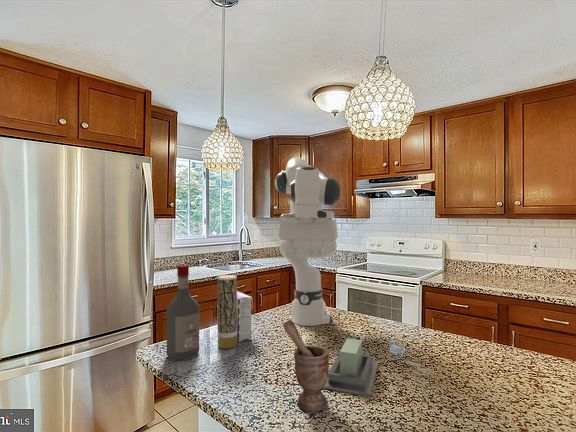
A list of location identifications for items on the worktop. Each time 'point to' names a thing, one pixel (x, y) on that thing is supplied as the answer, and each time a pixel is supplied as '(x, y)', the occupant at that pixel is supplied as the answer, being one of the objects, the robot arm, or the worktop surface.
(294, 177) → the robot arm
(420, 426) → the worktop surface
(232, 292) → the paper tube
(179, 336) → the liquor
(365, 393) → the duct collar
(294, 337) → the mortar and pestle
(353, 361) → the block
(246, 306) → the candy box
